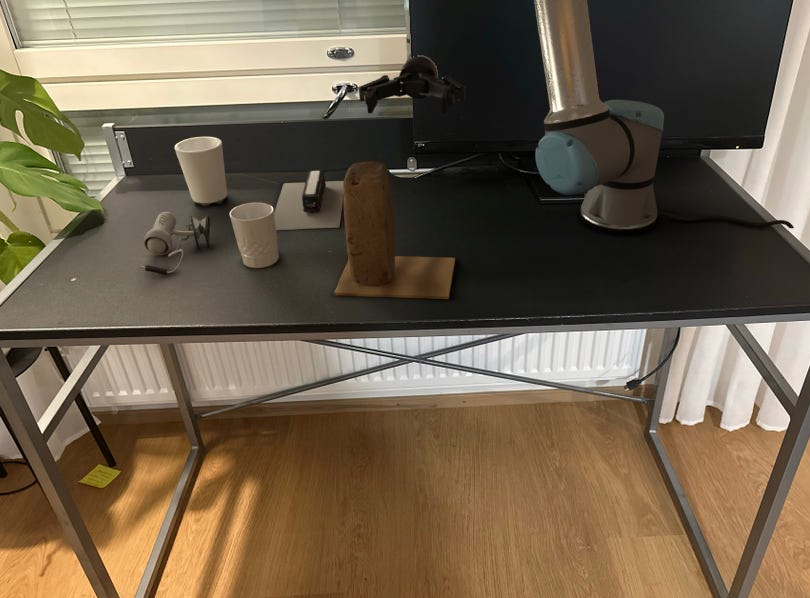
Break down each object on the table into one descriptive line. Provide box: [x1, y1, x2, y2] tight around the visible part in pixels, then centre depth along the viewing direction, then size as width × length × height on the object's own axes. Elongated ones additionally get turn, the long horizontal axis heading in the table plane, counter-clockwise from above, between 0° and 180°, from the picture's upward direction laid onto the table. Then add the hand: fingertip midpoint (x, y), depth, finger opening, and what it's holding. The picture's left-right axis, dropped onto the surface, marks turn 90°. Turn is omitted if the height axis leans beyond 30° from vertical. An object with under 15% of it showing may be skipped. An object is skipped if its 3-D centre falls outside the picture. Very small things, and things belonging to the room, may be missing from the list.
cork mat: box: [334, 255, 456, 300], centre depth 126 cm, size 20×14×1 cm
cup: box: [174, 136, 228, 207], centre depth 153 cm, size 10×10×13 cm
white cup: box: [229, 201, 280, 269], centre depth 130 cm, size 8×8×10 cm
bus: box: [274, 169, 344, 231], centre depth 152 cm, size 14×25×4 cm, turn 3°
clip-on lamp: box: [139, 211, 211, 276], centre depth 134 cm, size 12×6×18 cm
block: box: [343, 160, 396, 285], centre depth 120 cm, size 11×8×20 cm
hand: (406, 105), depth 126 cm, fingers open, 13 cm apart
